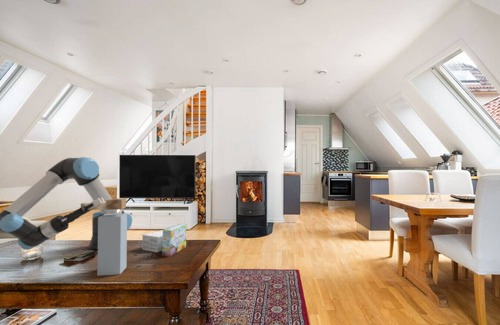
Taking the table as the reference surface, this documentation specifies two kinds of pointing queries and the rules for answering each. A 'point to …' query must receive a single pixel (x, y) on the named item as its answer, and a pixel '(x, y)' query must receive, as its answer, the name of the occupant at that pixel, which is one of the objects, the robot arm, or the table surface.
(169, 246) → the snack box
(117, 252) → the slate column
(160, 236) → the supplement box
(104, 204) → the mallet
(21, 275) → the table surface
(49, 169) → the robot arm
